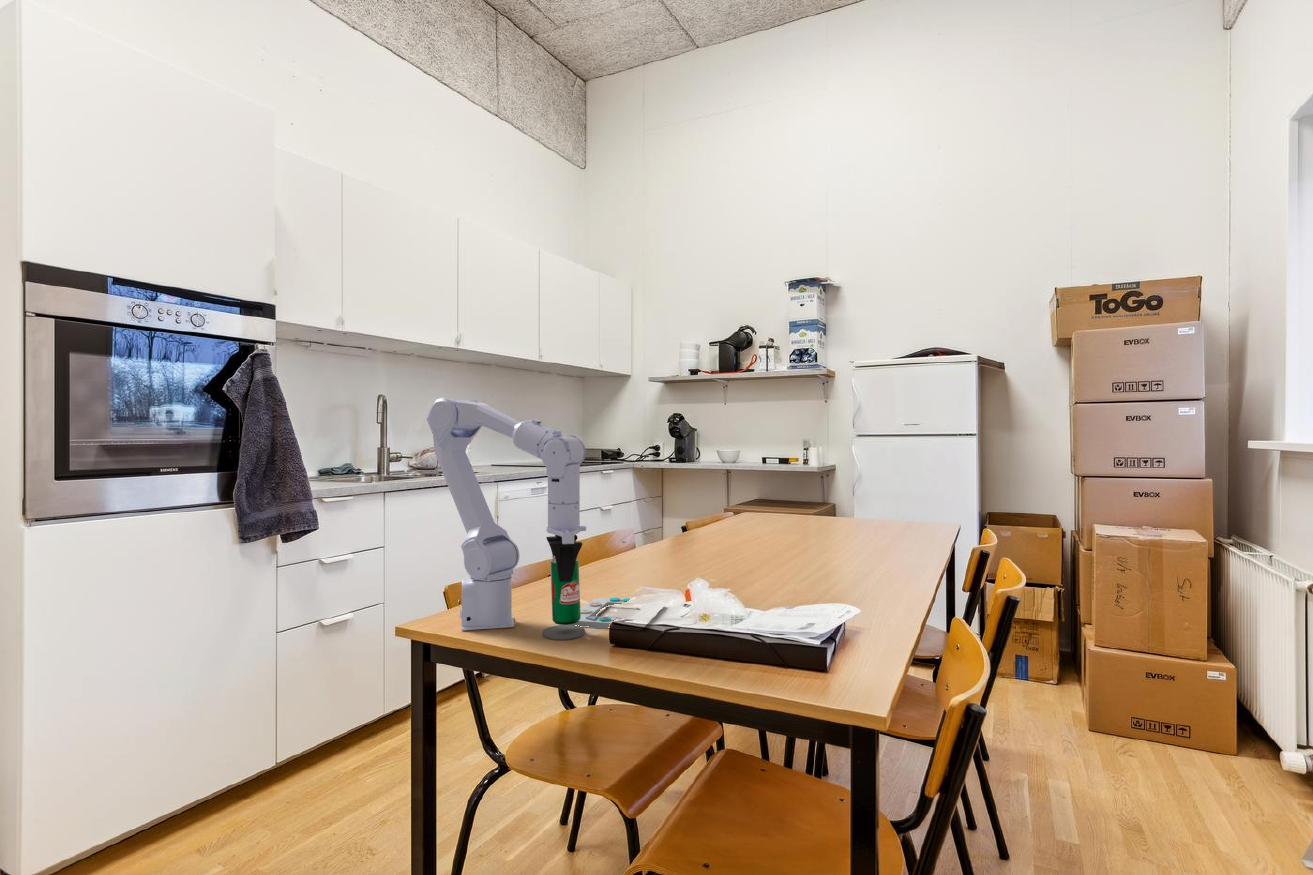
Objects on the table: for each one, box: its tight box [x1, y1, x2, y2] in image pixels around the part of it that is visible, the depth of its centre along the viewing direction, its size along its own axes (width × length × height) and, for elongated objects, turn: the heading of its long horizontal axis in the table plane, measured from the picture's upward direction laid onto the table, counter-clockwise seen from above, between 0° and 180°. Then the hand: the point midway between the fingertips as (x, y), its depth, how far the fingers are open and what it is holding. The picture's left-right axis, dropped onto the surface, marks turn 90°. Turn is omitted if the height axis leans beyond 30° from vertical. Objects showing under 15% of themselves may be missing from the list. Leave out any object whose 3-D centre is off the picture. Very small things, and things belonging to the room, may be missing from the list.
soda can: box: [550, 555, 581, 626], centre depth 124 cm, size 5×5×12 cm
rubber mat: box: [542, 624, 586, 641], centre depth 124 cm, size 8×8×1 cm
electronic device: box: [570, 597, 631, 630], centre depth 136 cm, size 18×2×15 cm
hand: (563, 578), depth 124 cm, fingers closed on soda can, 5 cm apart
